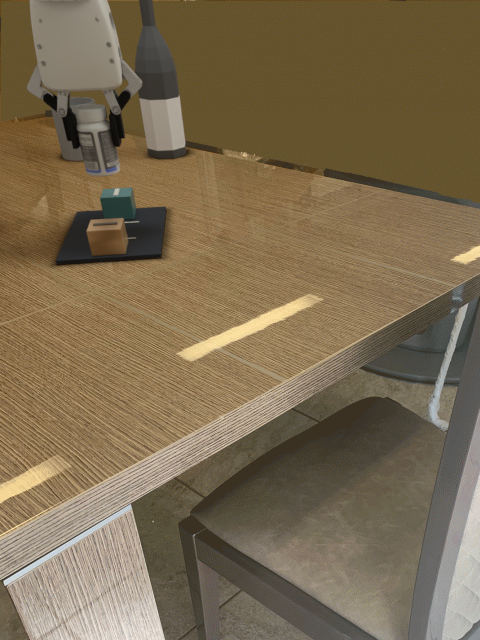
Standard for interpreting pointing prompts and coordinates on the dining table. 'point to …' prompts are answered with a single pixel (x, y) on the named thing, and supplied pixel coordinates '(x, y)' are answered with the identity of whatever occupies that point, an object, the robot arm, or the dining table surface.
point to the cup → (65, 145)
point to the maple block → (107, 236)
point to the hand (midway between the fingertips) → (97, 144)
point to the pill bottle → (96, 141)
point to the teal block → (118, 203)
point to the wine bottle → (158, 90)
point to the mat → (140, 233)
